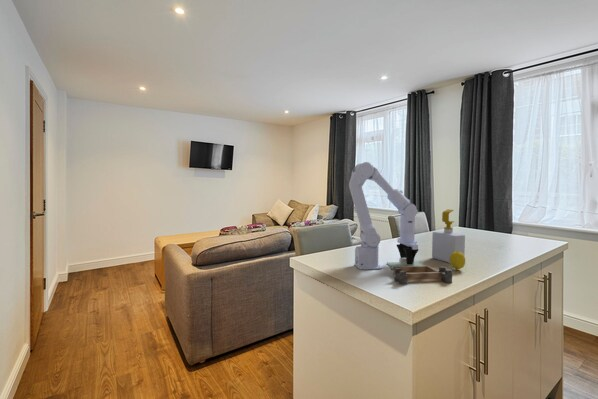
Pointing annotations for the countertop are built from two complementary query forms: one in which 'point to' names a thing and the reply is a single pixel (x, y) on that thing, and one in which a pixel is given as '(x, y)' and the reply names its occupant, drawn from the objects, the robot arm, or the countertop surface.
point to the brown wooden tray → (421, 274)
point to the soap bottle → (447, 241)
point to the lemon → (457, 260)
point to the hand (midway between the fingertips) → (406, 262)
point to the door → (402, 263)
